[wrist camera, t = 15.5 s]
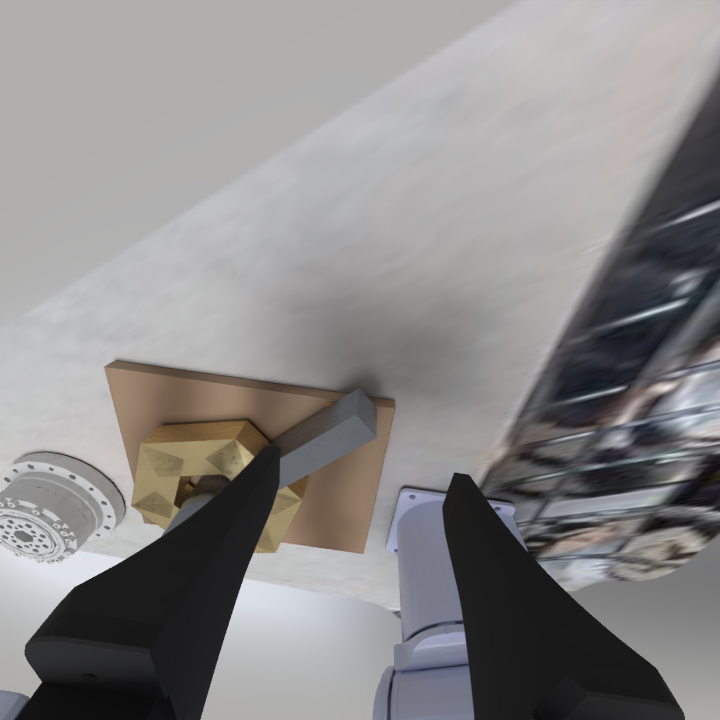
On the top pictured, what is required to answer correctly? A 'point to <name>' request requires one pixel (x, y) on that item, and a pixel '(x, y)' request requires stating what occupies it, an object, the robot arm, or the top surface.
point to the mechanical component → (55, 506)
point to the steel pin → (199, 497)
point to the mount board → (272, 419)
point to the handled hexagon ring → (247, 459)
